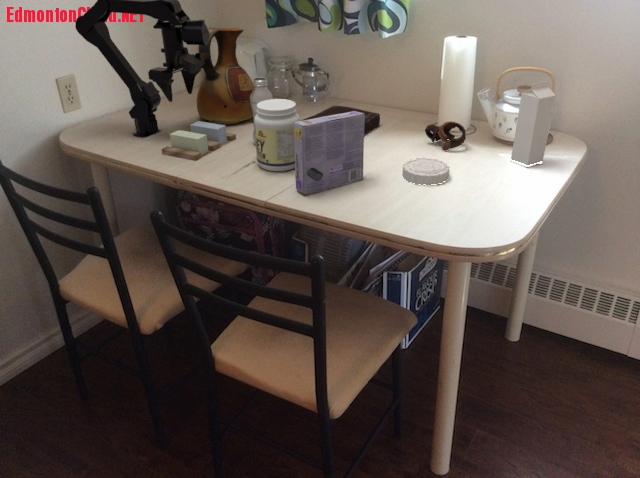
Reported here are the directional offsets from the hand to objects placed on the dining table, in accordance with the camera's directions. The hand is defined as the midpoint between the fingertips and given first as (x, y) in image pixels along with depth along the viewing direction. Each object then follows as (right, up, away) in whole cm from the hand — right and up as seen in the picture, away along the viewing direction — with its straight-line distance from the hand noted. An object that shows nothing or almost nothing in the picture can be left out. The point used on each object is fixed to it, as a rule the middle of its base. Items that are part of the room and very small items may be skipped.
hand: (180, 97), depth 174 cm
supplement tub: (+31, -23, -16) cm, 42 cm away
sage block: (+5, -18, -9) cm, 21 cm away
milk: (+99, -22, -17) cm, 103 cm away
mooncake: (+70, -27, -24) cm, 79 cm away
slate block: (+9, -14, -2) cm, 17 cm away
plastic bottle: (+26, -16, -4) cm, 31 cm away
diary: (+48, -10, +8) cm, 49 cm away
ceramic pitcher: (+12, -3, +18) cm, 22 cm away
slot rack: (+7, -17, -5) cm, 19 cm away
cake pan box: (+45, -29, -28) cm, 61 cm away
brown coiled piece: (+79, -16, -5) cm, 81 cm away
